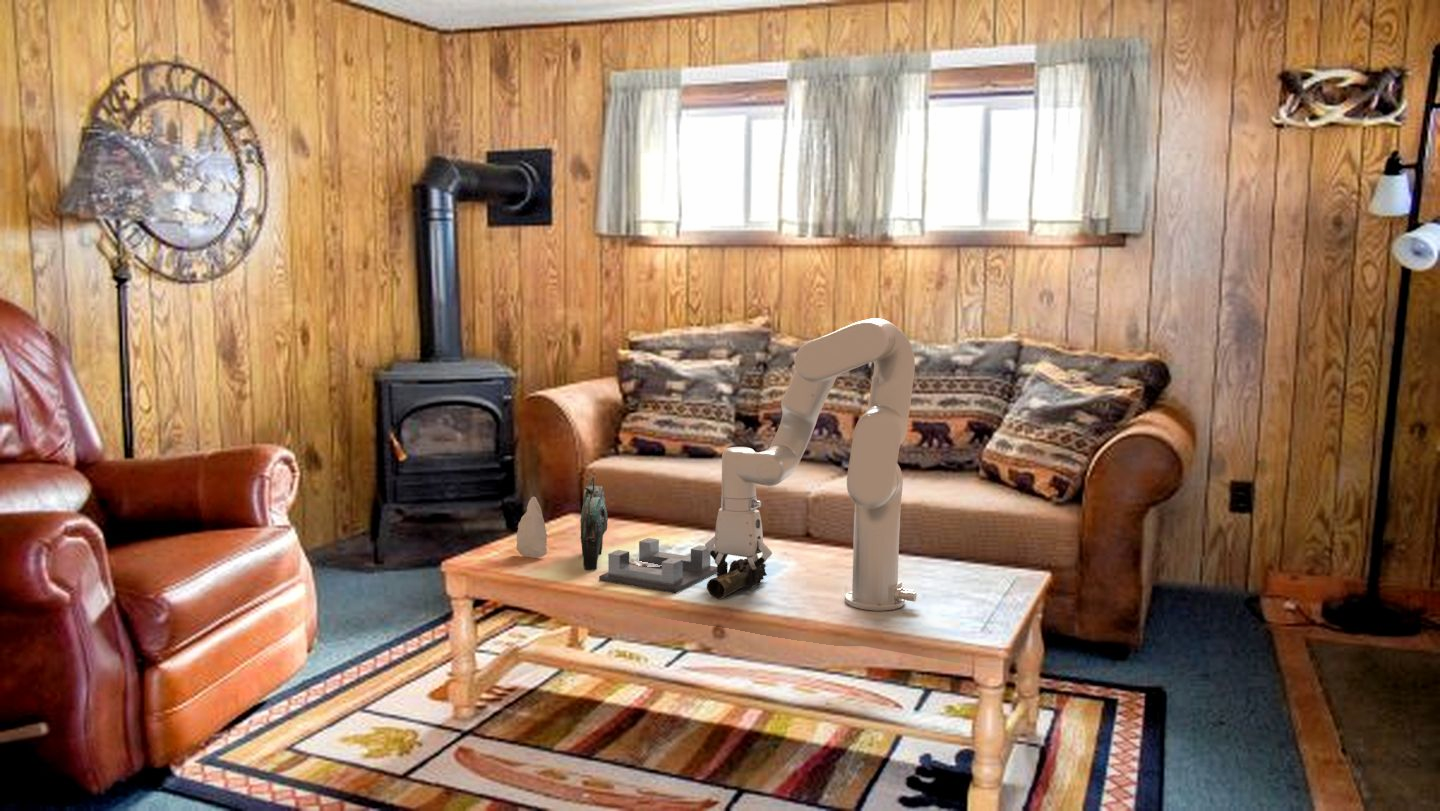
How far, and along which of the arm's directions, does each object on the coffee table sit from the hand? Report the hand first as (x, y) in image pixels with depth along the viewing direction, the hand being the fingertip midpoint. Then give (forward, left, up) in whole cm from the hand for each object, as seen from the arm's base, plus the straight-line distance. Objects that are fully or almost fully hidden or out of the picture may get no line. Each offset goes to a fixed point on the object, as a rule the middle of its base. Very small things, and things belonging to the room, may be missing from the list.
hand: (737, 582), depth 240 cm
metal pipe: (0, 0, -2) cm, 2 cm away
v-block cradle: (+20, 0, -1) cm, 20 cm away
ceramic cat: (+41, -4, -2) cm, 41 cm away
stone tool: (+56, +1, -2) cm, 56 cm away
